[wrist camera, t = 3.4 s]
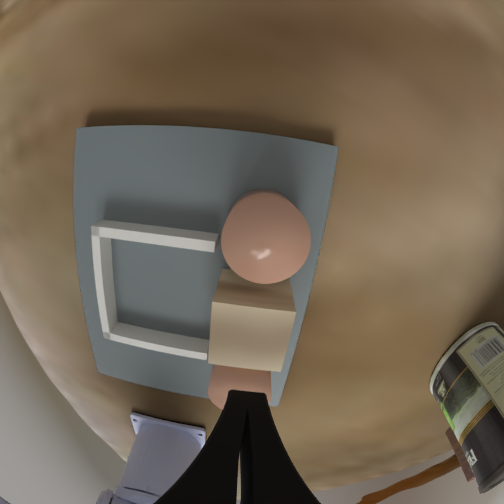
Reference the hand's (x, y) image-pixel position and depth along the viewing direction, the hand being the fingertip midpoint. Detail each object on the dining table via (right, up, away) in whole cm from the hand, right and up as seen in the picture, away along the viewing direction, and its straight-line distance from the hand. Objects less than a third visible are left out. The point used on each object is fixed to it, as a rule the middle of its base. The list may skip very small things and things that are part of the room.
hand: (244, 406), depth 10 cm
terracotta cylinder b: (+1, +7, +6) cm, 10 cm away
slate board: (-4, +4, +9) cm, 10 cm away
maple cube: (0, +3, +8) cm, 8 cm away
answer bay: (-6, +4, +8) cm, 10 cm away
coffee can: (+23, -5, +11) cm, 26 cm away
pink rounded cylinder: (0, -2, +10) cm, 10 cm away
